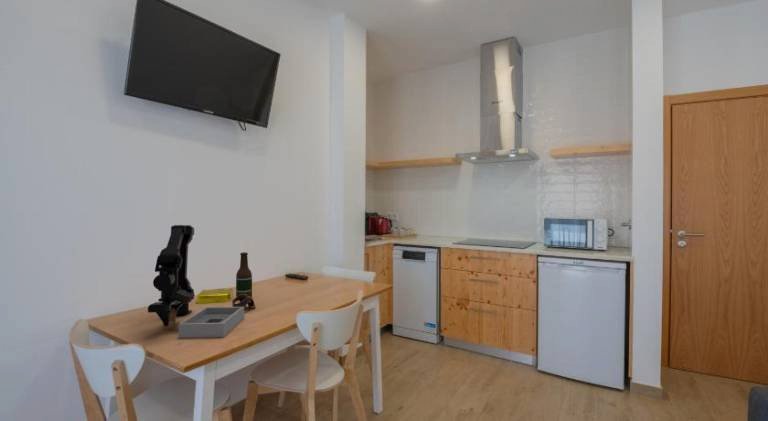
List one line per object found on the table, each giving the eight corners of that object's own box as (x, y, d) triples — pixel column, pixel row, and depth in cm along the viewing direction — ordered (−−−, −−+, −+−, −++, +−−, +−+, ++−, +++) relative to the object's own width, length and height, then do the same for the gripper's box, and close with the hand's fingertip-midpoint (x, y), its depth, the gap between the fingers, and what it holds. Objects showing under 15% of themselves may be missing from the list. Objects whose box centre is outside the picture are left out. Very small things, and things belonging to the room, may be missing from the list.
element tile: (196, 304, 174) (196, 295, 174) (202, 297, 189) (202, 288, 189) (229, 302, 178) (229, 293, 178) (233, 295, 193) (233, 286, 193)
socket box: (205, 318, 151) (205, 307, 151) (244, 318, 152) (244, 306, 152) (178, 337, 129) (178, 324, 129) (223, 337, 130) (223, 323, 130)
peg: (167, 326, 141) (167, 308, 141) (177, 326, 141) (177, 308, 141) (161, 329, 137) (161, 311, 137) (172, 329, 137) (172, 311, 137)
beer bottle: (255, 298, 185) (255, 252, 185) (242, 301, 179) (242, 254, 178) (245, 296, 189) (245, 251, 189) (232, 299, 183) (232, 252, 183)
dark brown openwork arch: (258, 311, 164) (250, 298, 160) (238, 322, 161) (230, 309, 157) (254, 299, 174) (246, 286, 170) (235, 309, 171) (227, 296, 167)
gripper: (178, 289, 130) (178, 332, 130) (201, 279, 149) (201, 316, 149) (146, 290, 130) (146, 332, 130) (174, 279, 148) (174, 316, 149)
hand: (169, 324), depth 139 cm, fingers closed on peg, 4 cm apart
